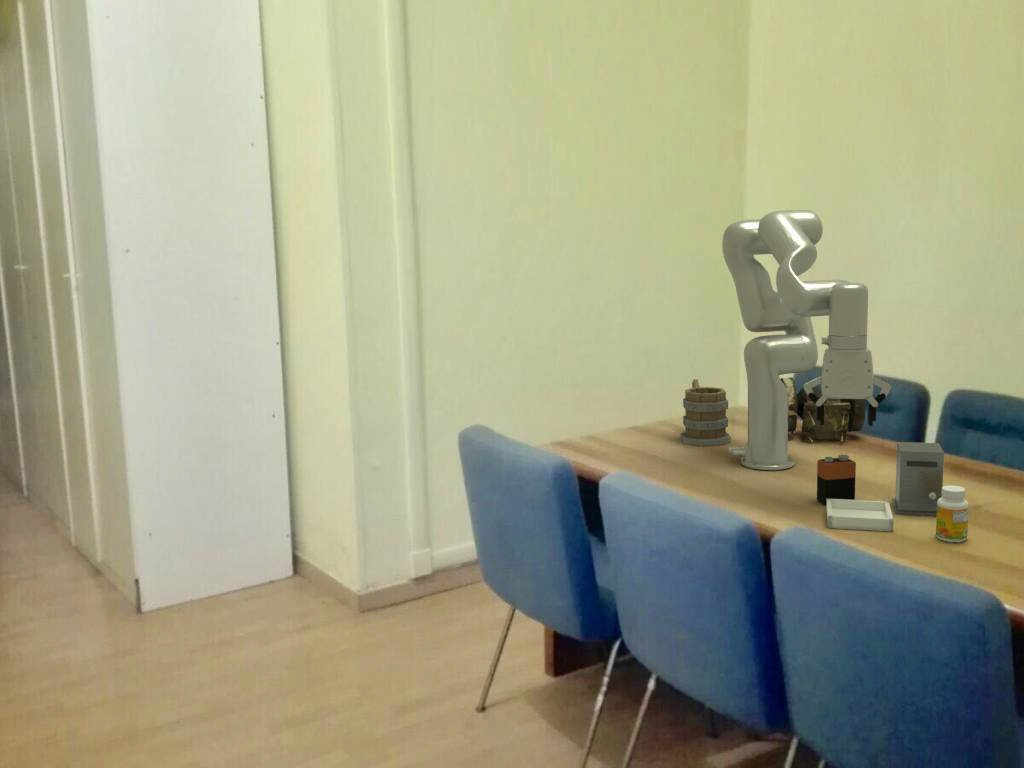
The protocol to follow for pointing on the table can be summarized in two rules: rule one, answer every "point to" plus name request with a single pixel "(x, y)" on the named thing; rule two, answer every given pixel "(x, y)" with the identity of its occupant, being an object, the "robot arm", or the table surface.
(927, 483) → the control box
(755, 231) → the robot arm
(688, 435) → the tankard
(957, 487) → the supplement bottle
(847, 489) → the battery
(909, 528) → the table surface
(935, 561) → the table surface
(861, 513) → the tray
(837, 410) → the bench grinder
